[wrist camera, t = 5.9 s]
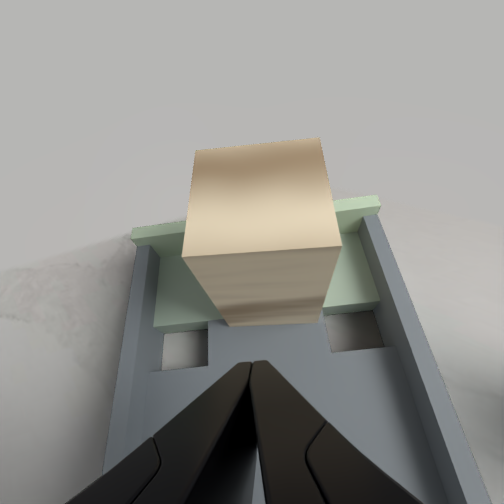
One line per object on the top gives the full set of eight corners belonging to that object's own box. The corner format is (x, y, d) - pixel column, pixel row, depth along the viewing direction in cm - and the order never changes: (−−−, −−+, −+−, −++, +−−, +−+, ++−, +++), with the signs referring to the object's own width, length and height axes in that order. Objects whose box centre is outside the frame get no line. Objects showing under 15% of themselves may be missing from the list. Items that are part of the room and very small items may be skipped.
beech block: (317, 322, 19) (342, 245, 10) (229, 326, 19) (181, 256, 11) (307, 246, 22) (319, 137, 13) (231, 252, 22) (195, 150, 14)
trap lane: (460, 522, 15) (531, 569, 10) (130, 546, 16) (69, 596, 11) (360, 233, 24) (376, 194, 20) (159, 259, 25) (132, 228, 21)
